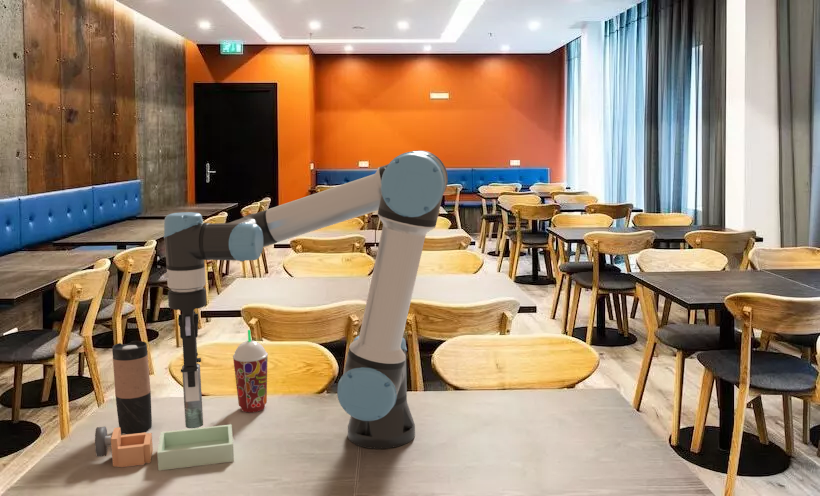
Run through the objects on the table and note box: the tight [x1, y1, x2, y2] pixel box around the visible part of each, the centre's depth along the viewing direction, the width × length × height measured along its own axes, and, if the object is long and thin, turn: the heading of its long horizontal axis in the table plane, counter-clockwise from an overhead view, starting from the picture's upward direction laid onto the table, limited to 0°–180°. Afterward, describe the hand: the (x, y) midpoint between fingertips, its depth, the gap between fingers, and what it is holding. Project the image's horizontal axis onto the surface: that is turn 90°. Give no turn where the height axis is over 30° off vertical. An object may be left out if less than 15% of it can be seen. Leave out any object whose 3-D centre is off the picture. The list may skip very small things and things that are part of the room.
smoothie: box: [232, 329, 269, 413], centre depth 187 cm, size 8×8×20 cm
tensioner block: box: [94, 426, 154, 468], centre depth 160 cm, size 10×7×8 cm
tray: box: [156, 424, 235, 471], centre depth 162 cm, size 15×11×4 cm
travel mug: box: [111, 340, 153, 435], centre depth 175 cm, size 8×8×20 cm
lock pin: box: [181, 363, 204, 429], centre depth 160 cm, size 4×4×13 cm
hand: (192, 396), depth 160 cm, fingers closed on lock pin, 3 cm apart
